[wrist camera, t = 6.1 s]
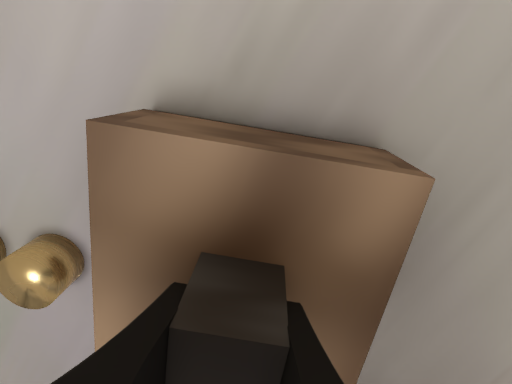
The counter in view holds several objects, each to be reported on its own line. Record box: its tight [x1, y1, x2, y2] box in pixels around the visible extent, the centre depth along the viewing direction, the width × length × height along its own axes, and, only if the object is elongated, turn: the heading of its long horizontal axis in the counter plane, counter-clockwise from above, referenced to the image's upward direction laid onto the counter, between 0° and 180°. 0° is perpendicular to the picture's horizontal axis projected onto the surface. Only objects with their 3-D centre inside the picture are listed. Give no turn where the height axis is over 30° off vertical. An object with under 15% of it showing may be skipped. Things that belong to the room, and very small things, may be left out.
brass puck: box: [0, 234, 84, 309], centre depth 16 cm, size 3×3×2 cm
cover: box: [86, 109, 435, 384], centre depth 11 cm, size 11×11×8 cm
